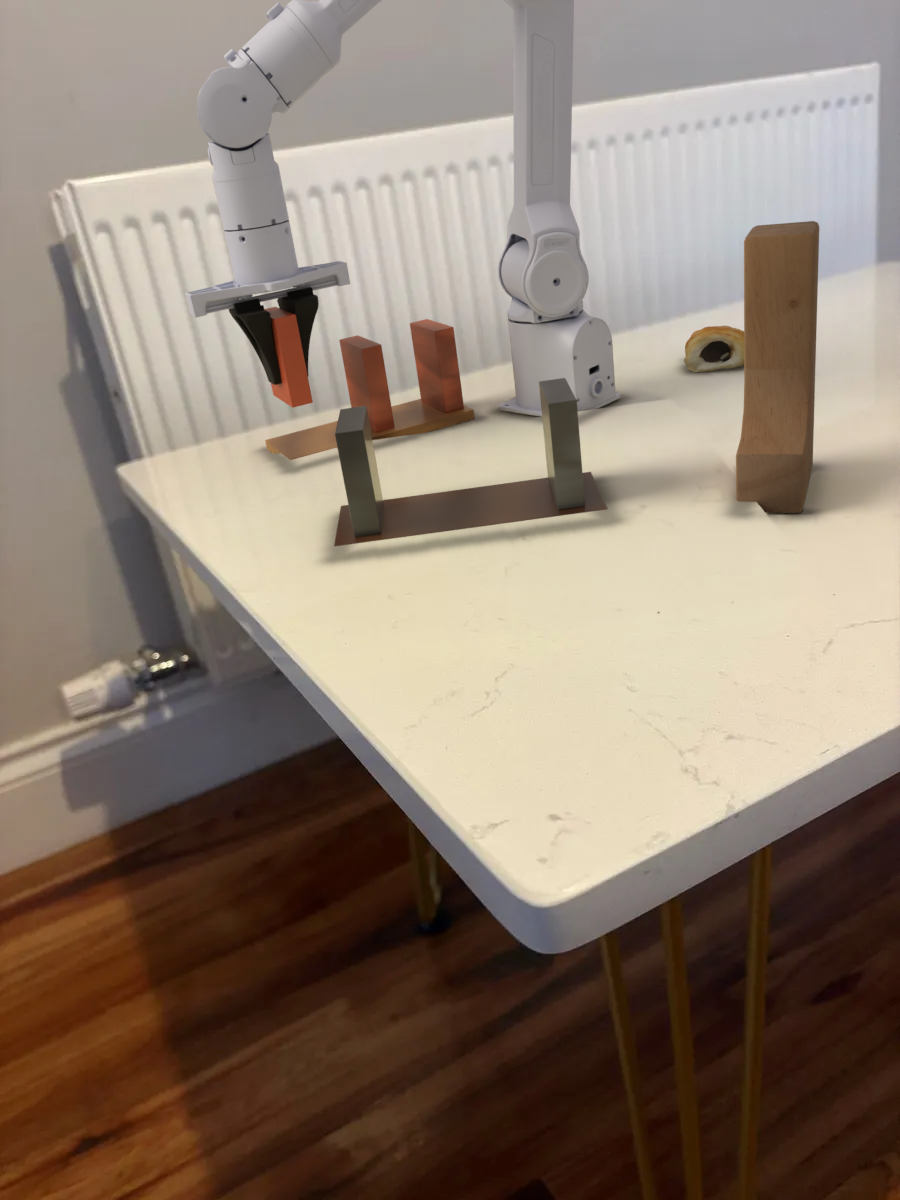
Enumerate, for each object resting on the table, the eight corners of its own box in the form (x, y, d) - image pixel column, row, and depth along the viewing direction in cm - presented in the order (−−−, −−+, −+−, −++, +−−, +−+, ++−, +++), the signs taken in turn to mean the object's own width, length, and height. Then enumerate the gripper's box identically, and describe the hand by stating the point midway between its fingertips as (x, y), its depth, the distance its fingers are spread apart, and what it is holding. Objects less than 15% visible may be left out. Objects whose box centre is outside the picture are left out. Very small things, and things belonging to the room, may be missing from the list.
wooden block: (802, 515, 71) (809, 243, 63) (735, 513, 72) (733, 249, 64) (812, 468, 78) (820, 219, 70) (751, 467, 80) (751, 225, 72)
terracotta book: (293, 390, 99) (275, 306, 95) (313, 402, 94) (295, 314, 90) (273, 395, 98) (255, 310, 94) (292, 408, 93) (274, 319, 89)
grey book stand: (591, 483, 81) (583, 371, 77) (608, 521, 74) (600, 400, 70) (342, 517, 82) (321, 408, 78) (335, 558, 75) (312, 440, 71)
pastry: (688, 350, 112) (688, 314, 111) (752, 346, 111) (753, 310, 109) (683, 374, 105) (682, 336, 103) (752, 370, 103) (753, 332, 101)
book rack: (440, 403, 107) (427, 316, 103) (474, 419, 100) (463, 327, 96) (266, 449, 101) (246, 359, 97) (292, 470, 94) (271, 373, 90)
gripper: (184, 244, 83) (223, 406, 89) (350, 212, 88) (376, 368, 94) (166, 238, 89) (204, 391, 95) (322, 209, 94) (349, 356, 100)
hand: (288, 379), depth 95 cm, fingers closed on terracotta book, 2 cm apart
